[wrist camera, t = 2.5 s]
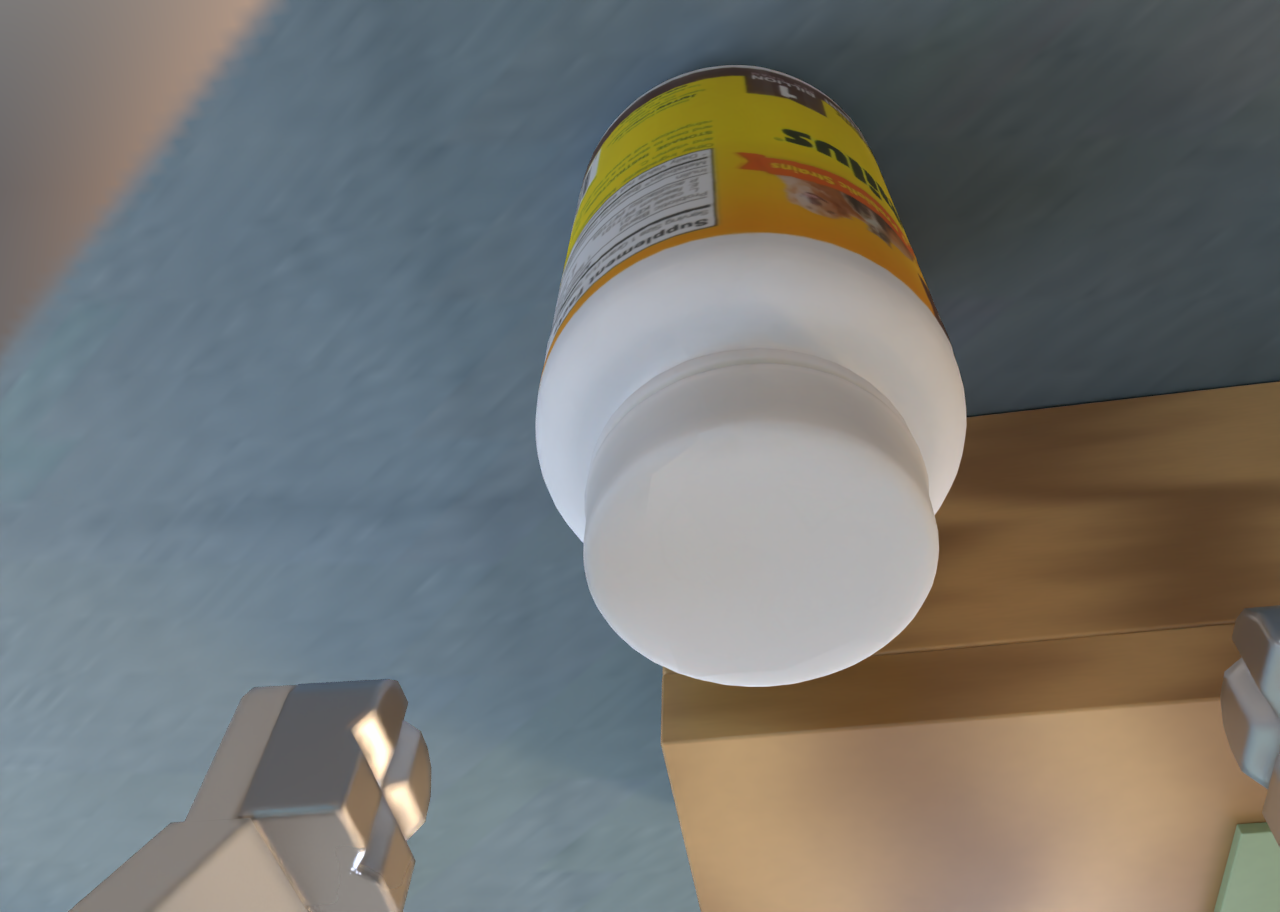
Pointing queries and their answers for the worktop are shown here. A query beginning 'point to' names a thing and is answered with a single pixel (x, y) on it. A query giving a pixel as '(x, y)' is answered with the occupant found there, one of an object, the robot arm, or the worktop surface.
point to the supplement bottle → (747, 386)
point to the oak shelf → (1021, 692)
